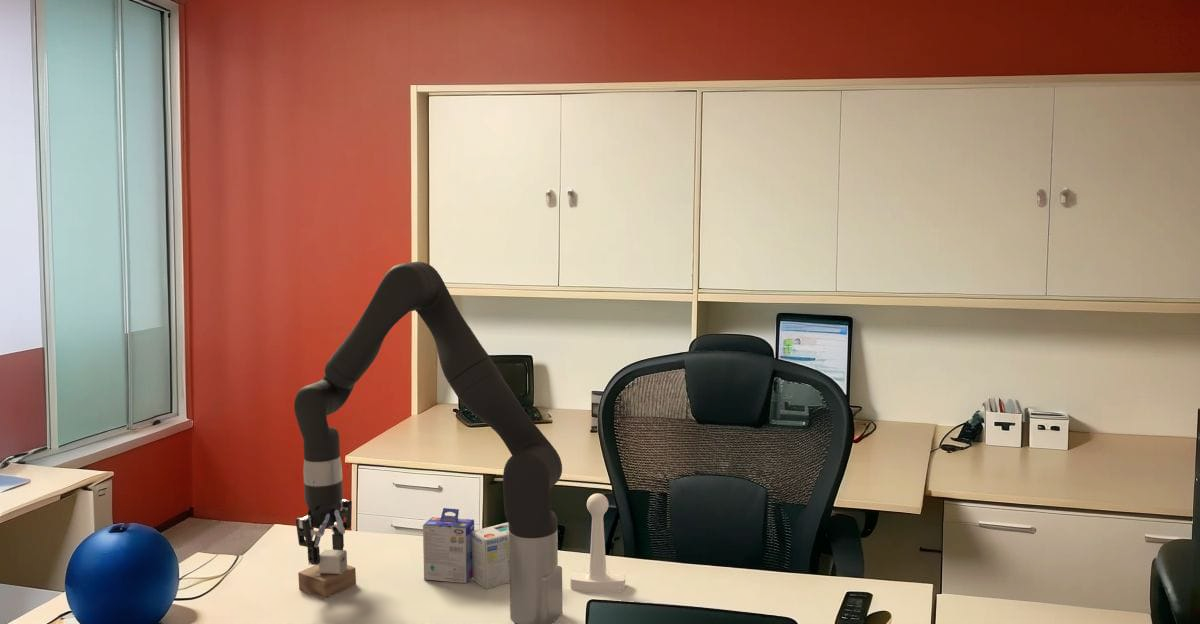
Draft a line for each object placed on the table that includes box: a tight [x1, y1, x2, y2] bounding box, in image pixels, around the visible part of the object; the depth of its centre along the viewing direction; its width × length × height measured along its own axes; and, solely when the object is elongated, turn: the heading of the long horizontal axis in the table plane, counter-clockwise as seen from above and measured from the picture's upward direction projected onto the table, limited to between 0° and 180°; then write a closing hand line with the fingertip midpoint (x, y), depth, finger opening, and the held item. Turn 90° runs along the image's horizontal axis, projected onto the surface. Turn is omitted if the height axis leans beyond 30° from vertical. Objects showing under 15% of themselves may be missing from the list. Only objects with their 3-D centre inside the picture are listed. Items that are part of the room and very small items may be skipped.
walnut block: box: [297, 564, 357, 599], centre depth 189 cm, size 8×8×4 cm
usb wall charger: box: [308, 549, 348, 574], centre depth 188 cm, size 4×7×4 cm, turn 84°
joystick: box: [570, 492, 626, 594], centre depth 189 cm, size 11×8×20 cm
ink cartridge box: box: [422, 507, 475, 584], centre depth 193 cm, size 10×6×14 cm, turn 78°
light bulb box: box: [471, 521, 510, 590], centre depth 193 cm, size 11×7×11 cm, turn 126°
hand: (326, 557), depth 188 cm, fingers open, 6 cm apart
